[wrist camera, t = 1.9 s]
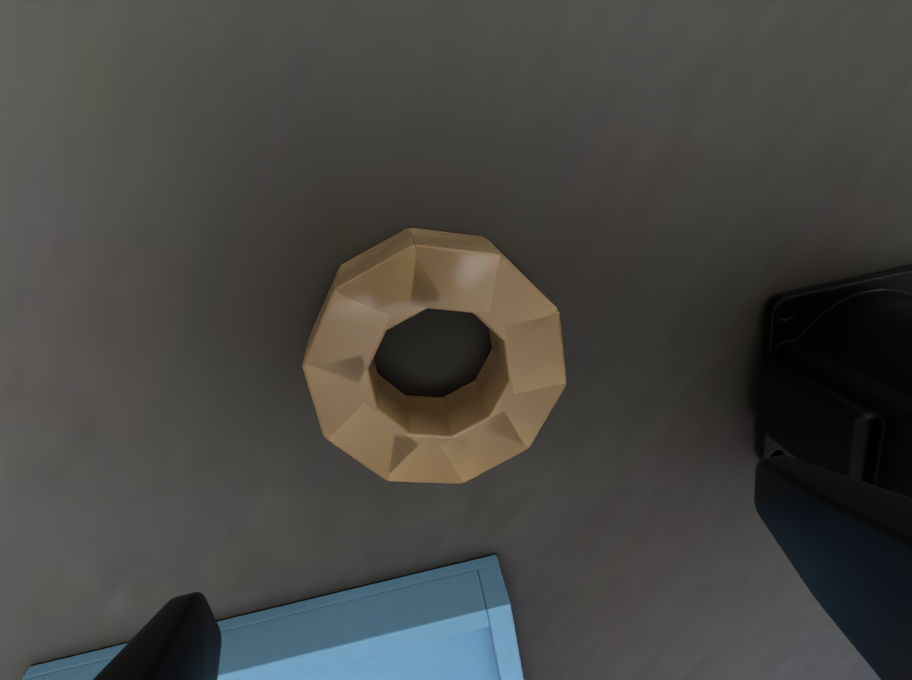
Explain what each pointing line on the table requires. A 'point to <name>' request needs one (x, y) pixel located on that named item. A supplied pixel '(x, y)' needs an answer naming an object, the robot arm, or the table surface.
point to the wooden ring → (459, 413)
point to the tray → (364, 634)
